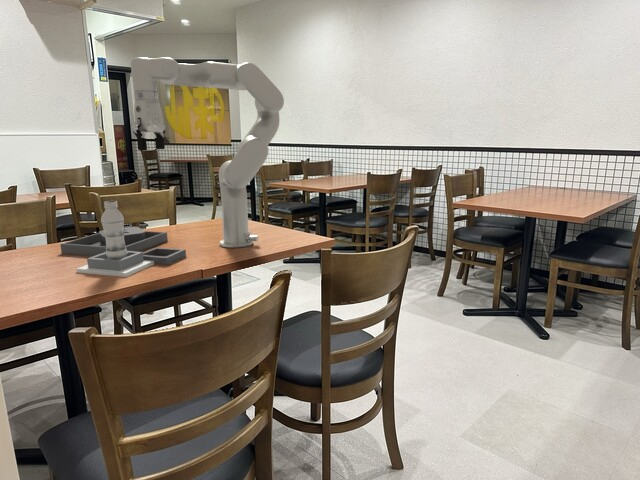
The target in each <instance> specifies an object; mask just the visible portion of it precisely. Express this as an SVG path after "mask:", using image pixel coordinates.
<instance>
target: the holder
mask: <svg viewBox="0 0 640 480" xmlns="http://www.w3.org/2000/svg"><path fill="white" fill-rule="evenodd" d="M142 252H143V258H144V260H151V261H154V265H158V266H160V265H161V266H169V265H172V264H173V263H175V262H178V261H180V260H182V259H184V258H186V257H187V250H186V249H182V248H181V249H180V248H171V247H170V248H168V247H167V248H166V247H156V246H155V247H154V248H153V247H152V248H150V249H147V250H145V251H142Z"/></svg>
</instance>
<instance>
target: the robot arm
mask: <svg viewBox="0 0 640 480" xmlns="http://www.w3.org/2000/svg"><path fill="white" fill-rule="evenodd" d="M130 70H131V71H130V72H131V77H132V79H131V80H132V87H133V89H132V91H133V97H134V106H133V107H134V108H133V110H134V114H133V115H134V121H133V122H132V123H131V124H130V126H131V129H132V132H133V134H134V136H135V139H136V142H137V143H136V144H137V150H138V151H147V150H148V144H147V138H146V135H147V133H153V135H154V136H155V137H154V145H155V150H165V139H164V138H165V134H166V127H167V125H166V124H165V123H164V117H163V116H164V115H163V112H162V110H163V109H162V107H161V104H160V102H159V101H160V100H159V92H158V81H160V82H161V83H163V84H165V85H172V86H181V87H184V86H185V87H198V88H199V87H200V88H210V89H211V88H212V89H226V90H234V91H237V90H238V91H247V92H248V93H249V94H250V95H251V96H252V97H253V99H254V106H255V108H256V112H257V117H256V120H255V122H254V124H252V127H251V128H250V129H249V131H248V132H247V134H246V135H245V136H244V137H243V138H242V140H241V141H240V142H239V143H238V146H237V153H236V154H235V155H234V157H233V158H232V159H231V160H227V161H225V162H223V163H222V164H221V165H220V168H219V170H218V181H219V183H218V184H219V189H220V199H221V219H222V235H223V237H222V238H223V239H221V240H219V246H220V247H223V248H243V247H244V248H245V247H248V246H251V245H253V244H254V242H258V240H259V236H258V234H257V235H254V234H252V231H250V230H249V217H248V215H249V213H248V212H249V211H248V196H247V195H248V194H247V192H248V191H247V185H248V184H249V183H250V182H251V181H252V180H253V179H254V177H255V176H256V175H257V173H258V172H259V170H260V169H261V168H262V167H263V165H264V163H265V162H266V160H267V158H268V156H269V147H268V146H269V144H270V143H272V140H273V139H274V138H275V136H276V134H277V133H278V130H279V126H280V111H281V110H282V109H283V107H284V104H285V99H284V96H283V93H282V92H281V91H280V89H279V88H278V87H277V86H276V85H275V84H274V82H273V81H271V79H270V78H269V77H268V76H267V75H266V74H265V73H264V71H263V70H261V69H260V68H259V66H257V65H256V64H255V63H253V62H249V61H248V62H247V61H246V62H243V63H241V64H237V63H226V62H219V61H217V62H216V61H205V62H201V63H178V62H177V61H176V60H175V59H174V58H172V57H168V56H166V57H165V56H164V57H156V58H150V57H149V58H148V57H143V56H142V57H133V58H132V59H131V61H130Z"/></svg>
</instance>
